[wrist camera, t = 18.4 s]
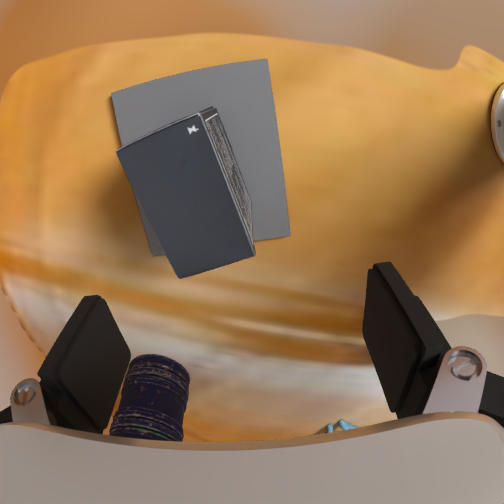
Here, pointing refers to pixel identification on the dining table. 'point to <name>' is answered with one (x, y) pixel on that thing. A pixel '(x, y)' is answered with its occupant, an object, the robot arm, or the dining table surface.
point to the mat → (235, 124)
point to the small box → (192, 193)
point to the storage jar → (152, 400)
